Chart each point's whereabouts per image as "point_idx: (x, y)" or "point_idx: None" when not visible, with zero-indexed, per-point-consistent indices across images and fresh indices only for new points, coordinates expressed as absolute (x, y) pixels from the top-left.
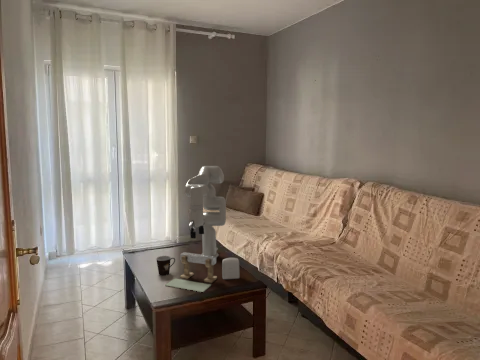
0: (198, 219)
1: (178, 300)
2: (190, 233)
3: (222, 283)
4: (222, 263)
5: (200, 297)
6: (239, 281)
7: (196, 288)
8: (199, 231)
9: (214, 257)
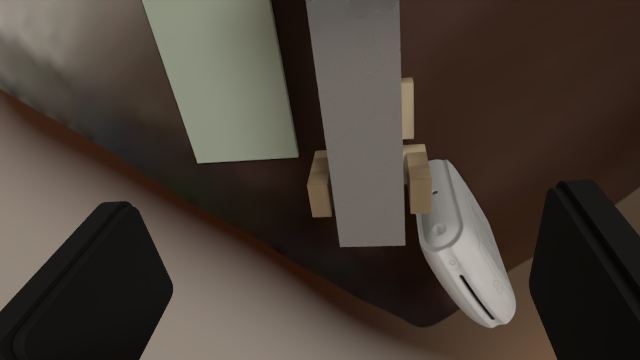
0: None
1: (52, 101)
2: (29, 283)
3: None
4: (428, 234)
5: (155, 176)
6: (420, 250)
7: (205, 112)
8: (575, 248)
9: (373, 244)
